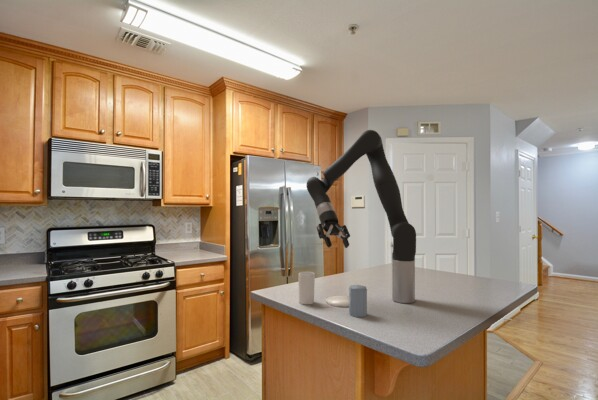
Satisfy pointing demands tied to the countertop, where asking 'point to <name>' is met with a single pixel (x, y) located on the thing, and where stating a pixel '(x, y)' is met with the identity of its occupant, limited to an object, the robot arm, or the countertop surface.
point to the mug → (306, 287)
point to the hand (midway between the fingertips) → (338, 246)
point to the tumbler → (357, 301)
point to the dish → (338, 301)
